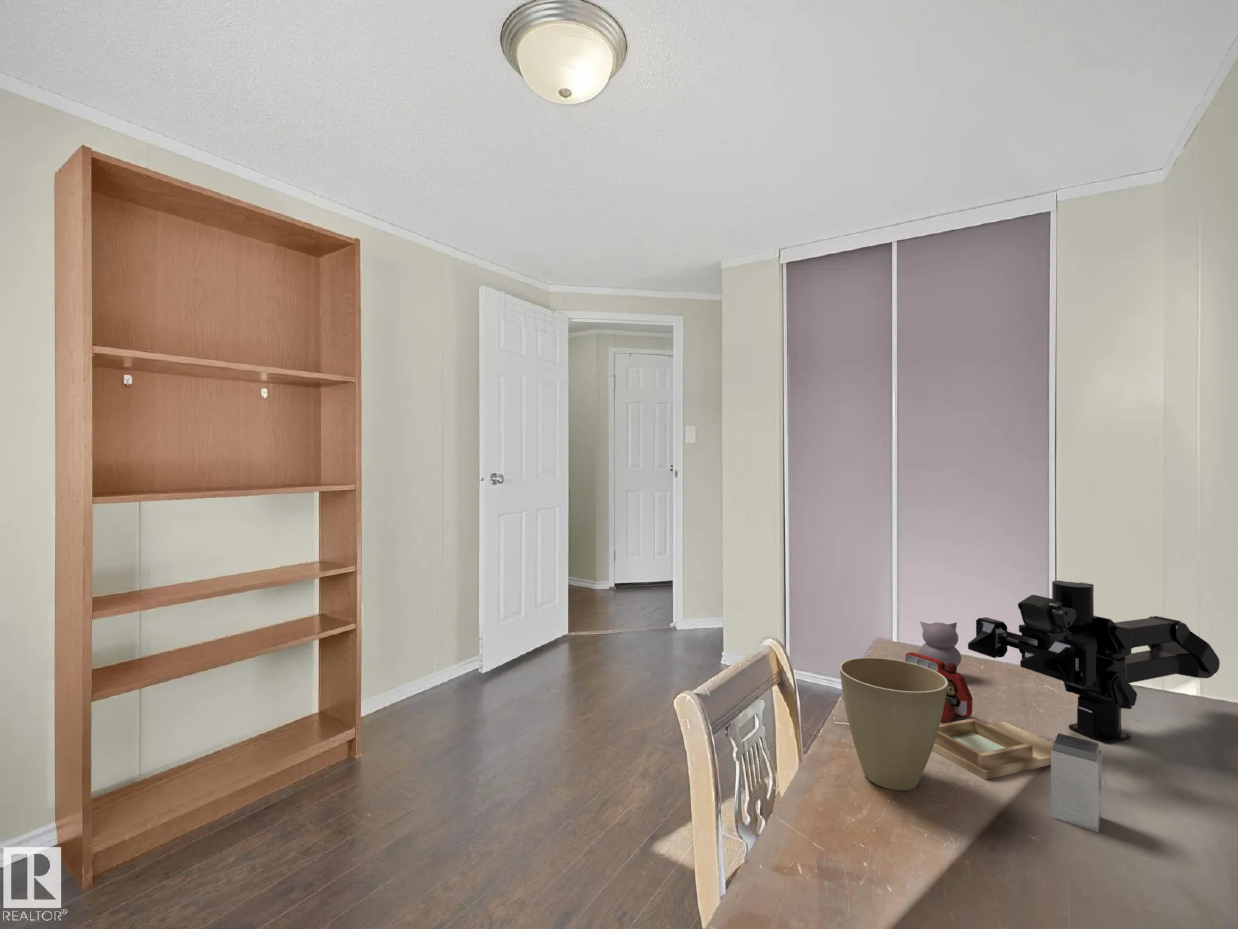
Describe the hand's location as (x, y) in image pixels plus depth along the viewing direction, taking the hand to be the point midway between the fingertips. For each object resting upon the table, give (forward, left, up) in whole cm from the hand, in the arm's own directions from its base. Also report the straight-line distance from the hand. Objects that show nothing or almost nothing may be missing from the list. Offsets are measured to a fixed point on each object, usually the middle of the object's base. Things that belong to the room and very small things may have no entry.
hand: (993, 654), depth 97 cm
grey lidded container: (+5, +16, -17) cm, 23 cm away
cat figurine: (-22, -31, -17) cm, 42 cm away
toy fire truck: (-5, -16, -17) cm, 24 cm away
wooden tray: (-2, -1, -17) cm, 17 cm away
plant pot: (+21, 0, -17) cm, 27 cm away
